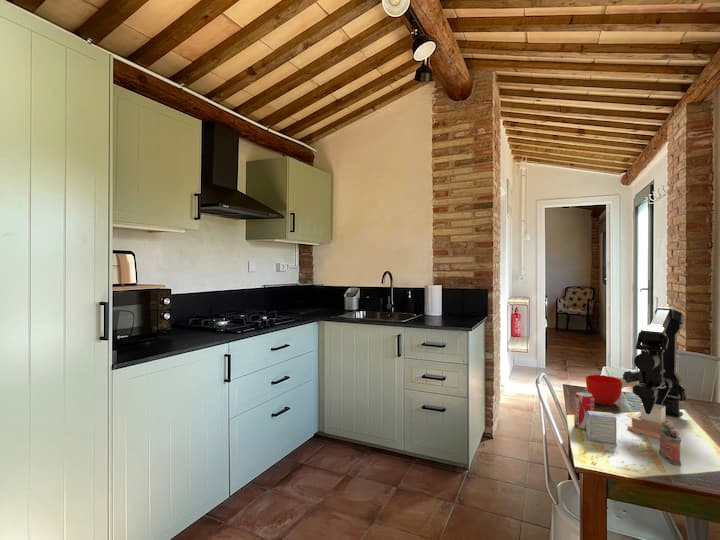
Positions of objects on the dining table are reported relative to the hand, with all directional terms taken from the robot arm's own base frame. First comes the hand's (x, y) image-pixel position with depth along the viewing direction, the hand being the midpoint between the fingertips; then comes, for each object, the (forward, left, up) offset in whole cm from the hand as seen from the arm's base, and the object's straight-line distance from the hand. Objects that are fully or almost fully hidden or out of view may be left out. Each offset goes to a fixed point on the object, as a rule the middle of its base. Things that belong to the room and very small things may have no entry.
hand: (652, 410), depth 136 cm
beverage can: (+15, -16, -8) cm, 23 cm away
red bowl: (-19, -24, -8) cm, 32 cm away
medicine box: (+21, -8, -8) cm, 24 cm away
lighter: (+19, +10, -8) cm, 23 cm away
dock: (0, 0, -7) cm, 7 cm away
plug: (0, 0, -6) cm, 6 cm away
